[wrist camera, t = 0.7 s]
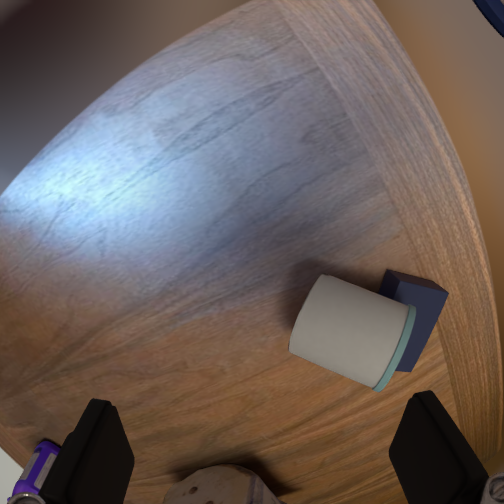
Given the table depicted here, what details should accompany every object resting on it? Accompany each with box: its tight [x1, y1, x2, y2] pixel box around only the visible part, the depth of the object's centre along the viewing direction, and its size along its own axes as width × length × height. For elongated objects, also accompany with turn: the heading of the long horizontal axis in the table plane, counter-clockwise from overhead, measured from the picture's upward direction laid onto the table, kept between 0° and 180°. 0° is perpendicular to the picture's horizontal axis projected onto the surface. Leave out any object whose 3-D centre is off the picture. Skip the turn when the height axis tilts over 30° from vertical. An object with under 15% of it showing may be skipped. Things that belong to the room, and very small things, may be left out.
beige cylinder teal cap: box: [288, 273, 416, 392], centre depth 24 cm, size 10×7×10 cm
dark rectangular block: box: [378, 269, 449, 372], centre depth 28 cm, size 9×6×3 cm, turn 166°
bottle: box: [7, 441, 60, 501], centre depth 27 cm, size 7×6×17 cm
